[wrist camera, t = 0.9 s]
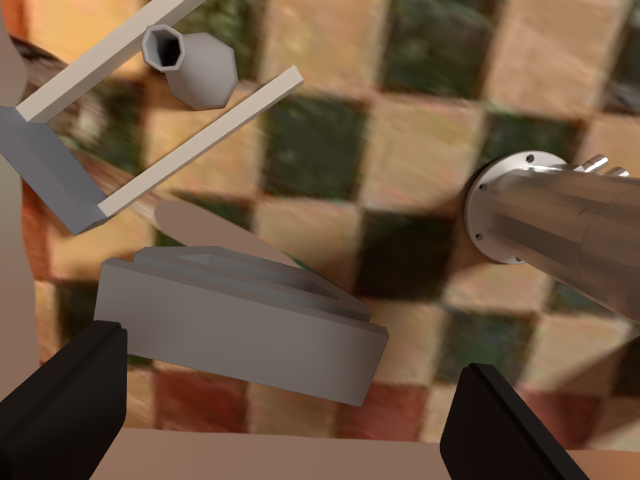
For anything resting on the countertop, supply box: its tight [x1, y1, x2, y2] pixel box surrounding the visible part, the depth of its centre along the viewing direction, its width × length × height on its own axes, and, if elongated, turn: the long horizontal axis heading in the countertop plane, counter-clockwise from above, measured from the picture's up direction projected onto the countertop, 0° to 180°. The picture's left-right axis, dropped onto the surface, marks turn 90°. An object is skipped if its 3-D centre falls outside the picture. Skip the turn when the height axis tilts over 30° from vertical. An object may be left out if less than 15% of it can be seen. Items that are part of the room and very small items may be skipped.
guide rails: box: [16, 0, 304, 217], centre depth 35 cm, size 24×12×2 cm, turn 123°
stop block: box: [0, 106, 118, 236], centre depth 35 cm, size 2×12×5 cm, turn 33°
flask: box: [140, 24, 238, 110], centre depth 30 cm, size 7×7×10 cm
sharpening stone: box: [93, 246, 389, 407], centre depth 37 cm, size 25×8×11 cm, turn 73°
